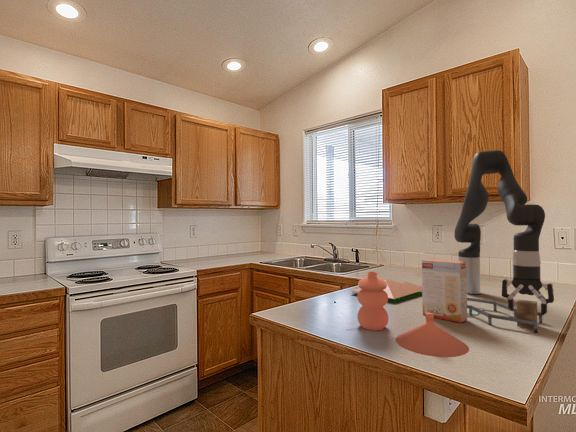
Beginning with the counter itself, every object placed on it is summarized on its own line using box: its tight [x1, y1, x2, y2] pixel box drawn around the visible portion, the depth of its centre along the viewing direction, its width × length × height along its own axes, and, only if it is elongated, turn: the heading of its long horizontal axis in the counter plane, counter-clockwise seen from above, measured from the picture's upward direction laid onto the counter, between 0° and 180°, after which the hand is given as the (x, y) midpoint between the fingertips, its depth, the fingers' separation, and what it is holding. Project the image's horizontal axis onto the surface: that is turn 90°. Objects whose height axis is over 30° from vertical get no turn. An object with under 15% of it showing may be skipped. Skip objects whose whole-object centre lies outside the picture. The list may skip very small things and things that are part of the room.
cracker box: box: [421, 258, 468, 324], centre depth 126 cm, size 14×6×21 cm, turn 41°
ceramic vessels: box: [356, 271, 470, 358], centre depth 105 cm, size 35×21×19 cm, turn 42°
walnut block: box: [516, 299, 538, 330], centre depth 116 cm, size 5×5×8 cm
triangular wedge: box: [350, 279, 422, 304], centre depth 162 cm, size 23×33×8 cm
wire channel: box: [467, 297, 544, 334], centre depth 128 cm, size 32×22×4 cm
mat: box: [467, 307, 485, 316], centre depth 136 cm, size 10×11×1 cm
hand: (527, 312), depth 116 cm, fingers open, 8 cm apart
